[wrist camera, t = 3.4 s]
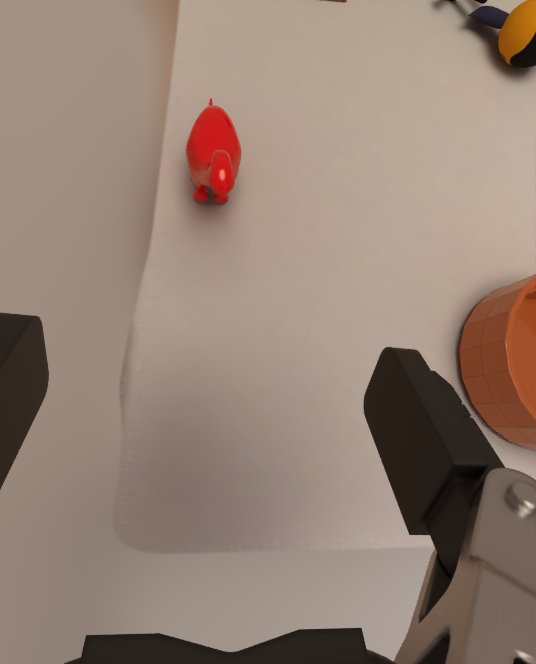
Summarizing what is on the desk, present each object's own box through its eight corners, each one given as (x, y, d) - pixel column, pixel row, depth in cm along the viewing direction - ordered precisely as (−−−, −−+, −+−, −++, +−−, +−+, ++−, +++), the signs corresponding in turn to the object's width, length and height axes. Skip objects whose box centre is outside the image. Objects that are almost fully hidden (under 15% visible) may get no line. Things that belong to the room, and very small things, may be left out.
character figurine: (421, 37, 44) (532, 84, 41) (447, -32, 40) (573, 14, 36) (461, 18, 50) (561, 58, 46) (487, -44, 45) (600, -5, 42)
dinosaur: (233, 102, 37) (255, -47, 25) (235, 270, 34) (260, 191, 22) (187, 97, 36) (186, -58, 24) (185, 268, 33) (183, 186, 22)
